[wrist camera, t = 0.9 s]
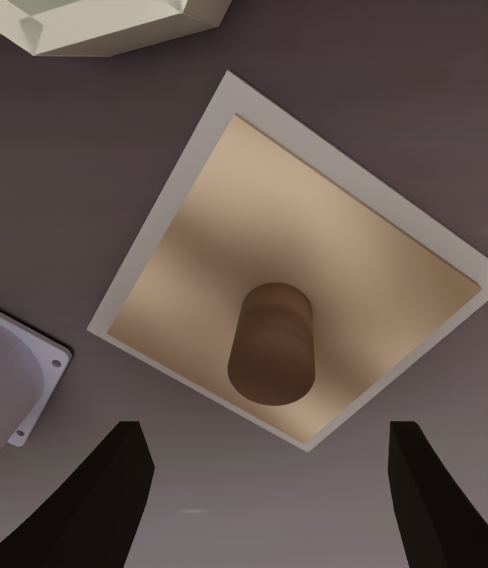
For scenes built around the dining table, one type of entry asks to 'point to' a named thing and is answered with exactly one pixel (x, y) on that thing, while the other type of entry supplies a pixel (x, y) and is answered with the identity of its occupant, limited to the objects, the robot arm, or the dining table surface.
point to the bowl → (103, 24)
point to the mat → (331, 163)
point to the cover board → (291, 246)
